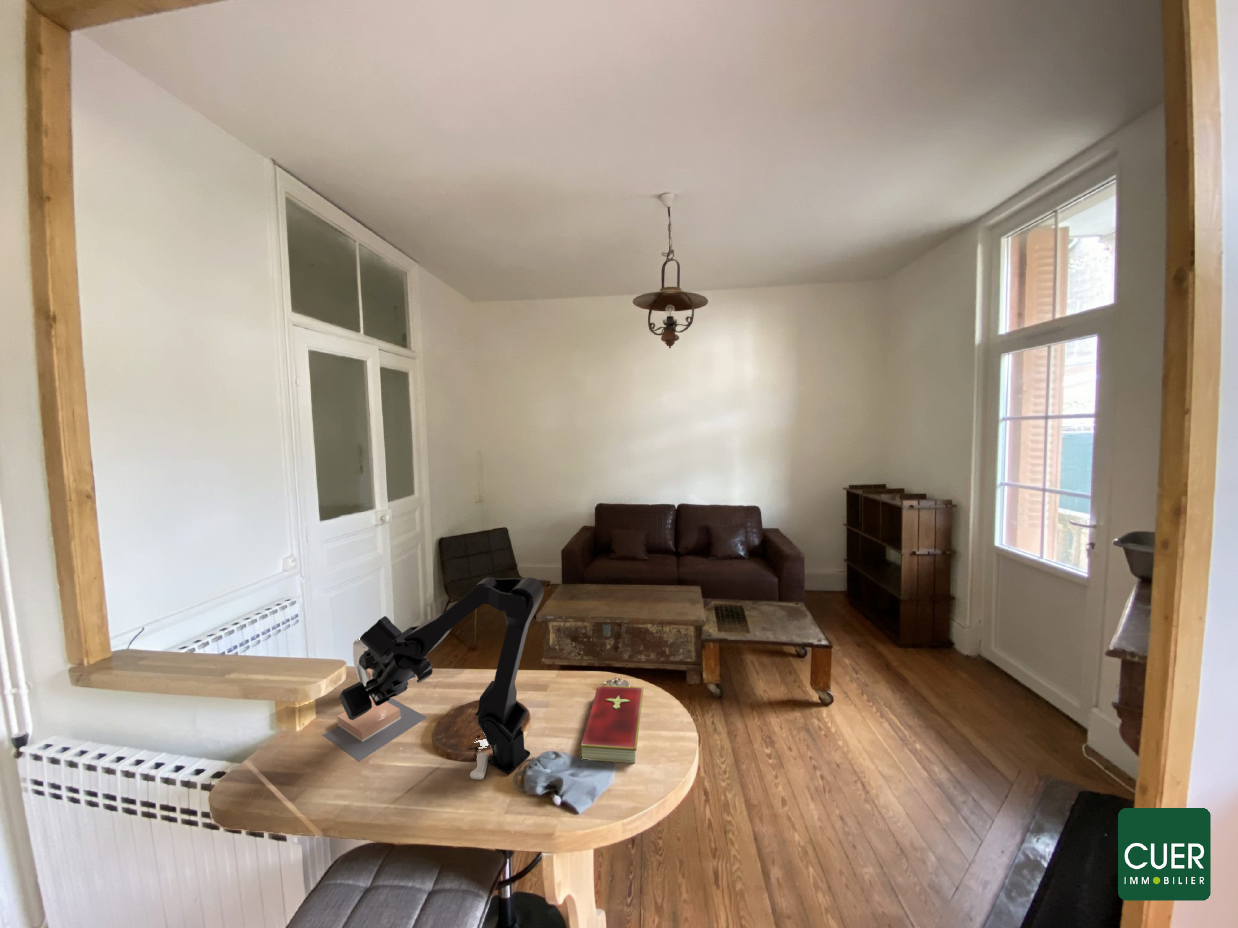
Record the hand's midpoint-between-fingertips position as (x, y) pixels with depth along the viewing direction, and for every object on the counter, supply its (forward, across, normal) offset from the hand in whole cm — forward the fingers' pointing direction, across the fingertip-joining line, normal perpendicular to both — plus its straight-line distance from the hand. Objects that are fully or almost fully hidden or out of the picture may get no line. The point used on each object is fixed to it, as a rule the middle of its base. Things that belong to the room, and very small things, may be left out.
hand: (377, 699), depth 101 cm
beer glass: (+17, -7, -6) cm, 20 cm away
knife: (-8, -11, +20) cm, 25 cm away
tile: (+4, 0, +5) cm, 6 cm away
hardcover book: (-28, -28, +40) cm, 56 cm away
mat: (+7, 0, +4) cm, 8 cm away
